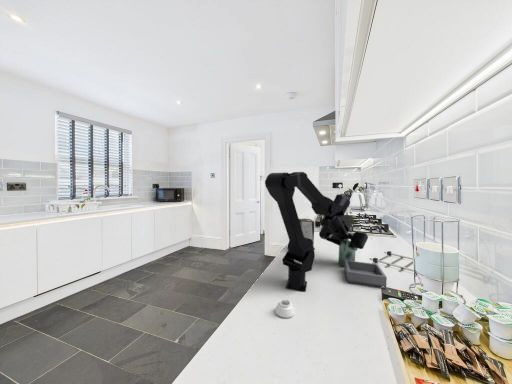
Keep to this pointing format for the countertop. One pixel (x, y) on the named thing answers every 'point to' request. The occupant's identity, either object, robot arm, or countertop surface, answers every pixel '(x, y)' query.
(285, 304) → the white jar
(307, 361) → the countertop surface
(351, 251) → the spout can
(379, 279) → the tray
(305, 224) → the coffee box
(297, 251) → the robot arm
